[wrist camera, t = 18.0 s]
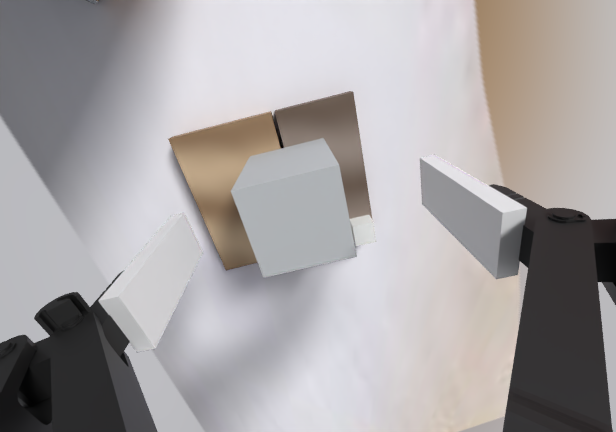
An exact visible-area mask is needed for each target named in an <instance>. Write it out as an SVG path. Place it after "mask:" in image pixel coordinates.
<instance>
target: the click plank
mask: <svg viewBox="0 0 616 432" xmlns="http://www.w3.org/2000/svg"><path fill="white" fill-rule="evenodd" d="M169 142H170V144H171V146H172V148H173V151H174V153H175V155H176V158H177V160H178V162H179V164H180V167H181V169H182V171H183V174H184V176H185V178H186V180H187V183H188V185H189V187H190V189H191V192H192V194H193V196H194V199H195V201H196V203H197V205H198V208H199V210H200V212H201V215H202V217H203V219H204V221H205V224H206V226H207V228H208V230H209V233H210V235H211V237H212V240H213V242H214V244H215V246H216V249H217V251H218V253H219V255H220V258H221V260H222V262H223V265H224V267H225V269H226V270H229V269H233V268H237V267H241V266H245V265H249V264H253V263H257V259H256V257H255V254H254V251H253V249H252V246H251V243H250V241H249V238H248V235H247V233H246V230H245V228H244V225H243V222H242V220H241V217H240V214H239V212H238V209H237V206H236V204H235V201H234V198H233V196H232V193H231V190H232V188H233V186H234V184H235V182H236V181H237V179H238V177H239V175H240V173H241V172H242V170H243V168H244V166H245V164H246V162H247V161H248V159H249V157H250V156H253V155H257V154H261V153H265V152H269V151H273V150H277V149H281V146H280V142H279V138H278V135H277V131H276V127H275V124H274V120H273V116H272V113H271V111H270V112H267V113H263V114H259V115H255V116H251V117H247V118H243V119H239V120H235V121H232V122H228V123H224V124H220V125H216V126H212V127H208V128H204V129H201V130H197V131H193V132H189V133H185V134H181V135H177V136H173V137H171V138H169Z"/></svg>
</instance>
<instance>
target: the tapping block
mask: <svg viewBox="0 0 616 432" xmlns="http://www.w3.org/2000/svg"><path fill="white" fill-rule="evenodd" d="M231 193H232V196H233V198H234V201H235V204H236V206H237V209H238V212H239V214H240V217H241V220H242V222H243V225H244V228H245V230H246V233H247V235H248V238H249V241H250V243H251V246H252V249H253V251H254V254H255V257H256V259H257V262H258V265H259V267H260V270H261V273H262V275H263V278H265V277H270V276H274V275H278V274H283V273H287V272H292V271H296V270H300V269H305V268H309V267H314V266H318V265H322V264H327V263H331V262H336V261H340V260H344V259H349V258H353V257H357V255H356V250H355V245H354V240H353V234H352V229H351V224H350V219H349V214H348V208H347V203H346V198H345V193H344V188H343V182H342V177H341V172H340V167H339V164H338V162H337V160H336V158H335V157H334V155H333V153H332V152H331V150H330V148H329V146H328V145H327V143H326V141H325V140H324V138H321V139H317V140H313V141H309V142H305V143H301V144H297V145H293V146H289V147H285V148H281V149H277V150H273V151H269V152H265V153H261V154H257V155H253V156H250V157H249V159H248V161H247V162H246V164H245V166H244V168H243V170H242V172H241V173H240V175H239V177H238V179H237V181H236V182H235V184H234V186H233V188H232V190H231Z"/></svg>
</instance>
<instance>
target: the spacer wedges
mask: <svg viewBox="0 0 616 432" xmlns="http://www.w3.org/2000/svg"><path fill="white" fill-rule="evenodd" d="M350 224H351V229H352V234H353V239H354V242H355V245H356V246H360V245H364V244H369V243H374V242H376V236H375V229H374V223H373V220H372V219H371V217H370V215H365V216H360V217H356V218H352V219H350Z"/></svg>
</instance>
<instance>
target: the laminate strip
mask: <svg viewBox="0 0 616 432" xmlns="http://www.w3.org/2000/svg"><path fill="white" fill-rule="evenodd" d="M275 115H276V119H277V123H278V126H279V130H280V134H281V138H282V141H283V145H284V148H285V147H289V146H293V145H297V144H301V143H305V142H309V141H313V140H317V139H321V138H324V140H325V141H326V143H327V145H328V146H329V148H330V150H331V152H332V153H333V155H334V157H335V158H336V160H337V162H338V164H339V167H340V172H341V177H342V182H343V188H344V193H345V198H346V203H347V208H348V214H349V219H352V218H356V217H360V216H365V215H370V217H371V219H372V214H371V208H370V201H369V194H368V188H367V181H366V174H365V168H364V161H363V154H362V148H361V141H360V134H359V128H358V121H357V114H356V108H355V101H354V94H353V92H351V91H349V92H345V93H342V94H338V95H334V96H330V97H326V98H322V99H318V100H314V101H310V102H306V103H302V104H298V105H294V106H290V107H286V108H282V109H278V110H275ZM353 240H354V239H353Z"/></svg>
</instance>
